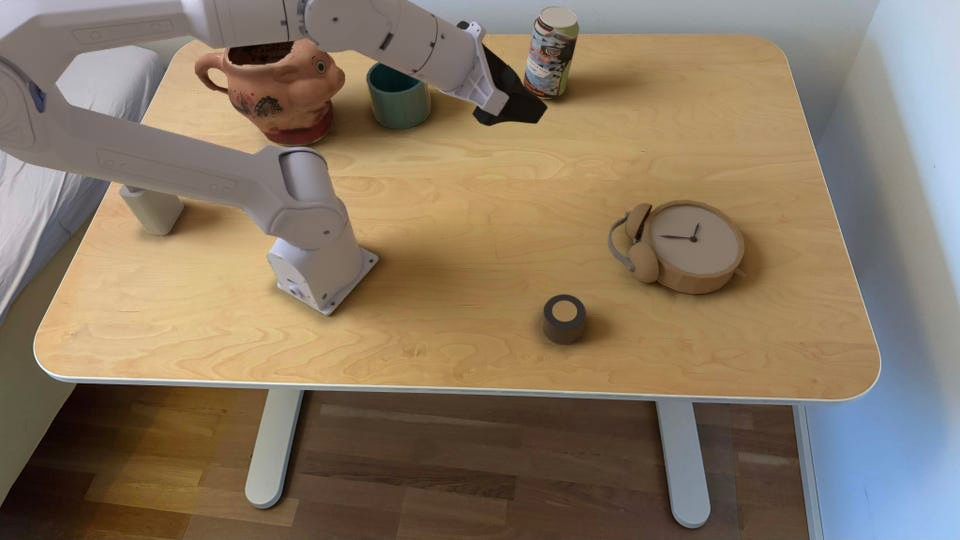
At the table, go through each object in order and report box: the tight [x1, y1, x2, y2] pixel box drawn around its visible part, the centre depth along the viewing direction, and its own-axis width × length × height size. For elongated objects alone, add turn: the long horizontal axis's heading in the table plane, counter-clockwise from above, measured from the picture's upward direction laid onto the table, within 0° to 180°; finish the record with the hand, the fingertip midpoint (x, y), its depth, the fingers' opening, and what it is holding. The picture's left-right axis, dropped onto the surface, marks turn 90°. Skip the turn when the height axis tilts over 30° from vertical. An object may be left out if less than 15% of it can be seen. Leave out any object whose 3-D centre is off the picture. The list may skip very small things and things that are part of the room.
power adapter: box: [118, 184, 185, 236], centre depth 80 cm, size 3×5×12 cm, turn 169°
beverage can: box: [523, 5, 580, 100], centre depth 91 cm, size 6×7×12 cm
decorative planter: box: [194, 38, 346, 147], centre depth 88 cm, size 20×12×14 cm, turn 90°
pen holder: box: [365, 61, 432, 130], centre depth 92 cm, size 8×8×6 cm
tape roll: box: [542, 293, 587, 346], centre depth 71 cm, size 4×4×3 cm
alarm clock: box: [607, 199, 747, 295], centre depth 76 cm, size 11×5×15 cm
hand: (522, 95), depth 68 cm, fingers open, 7 cm apart
